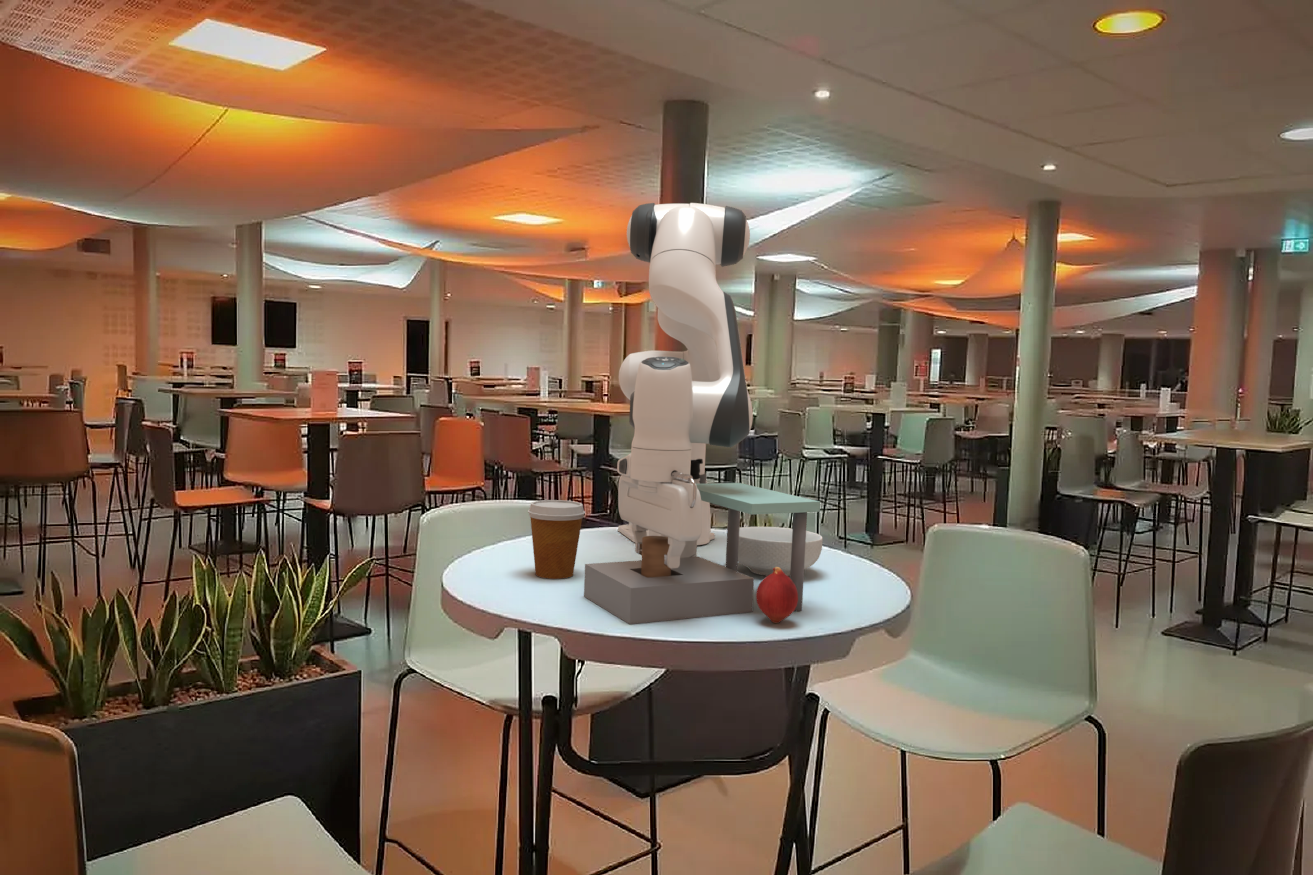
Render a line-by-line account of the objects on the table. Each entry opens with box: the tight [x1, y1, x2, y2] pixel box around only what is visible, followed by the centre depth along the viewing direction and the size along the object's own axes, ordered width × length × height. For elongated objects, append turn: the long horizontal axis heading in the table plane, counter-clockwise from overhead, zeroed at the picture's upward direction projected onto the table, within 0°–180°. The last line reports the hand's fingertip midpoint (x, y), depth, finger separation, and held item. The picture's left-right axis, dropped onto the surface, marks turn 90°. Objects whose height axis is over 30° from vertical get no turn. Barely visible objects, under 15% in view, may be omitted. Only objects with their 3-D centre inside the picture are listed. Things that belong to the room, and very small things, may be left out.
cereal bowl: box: [738, 526, 824, 577], centre depth 160 cm, size 17×17×7 cm
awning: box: [696, 482, 821, 612], centre depth 140 cm, size 22×12×16 cm, turn 27°
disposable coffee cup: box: [527, 499, 586, 580], centre depth 150 cm, size 10×10×12 cm
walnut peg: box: [641, 536, 671, 578], centre depth 133 cm, size 4×4×10 cm
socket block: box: [583, 556, 755, 625], centre depth 134 cm, size 16×20×5 cm
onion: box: [755, 567, 798, 624], centre depth 126 cm, size 6×6×8 cm
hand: (656, 560), depth 133 cm, fingers open, 8 cm apart
